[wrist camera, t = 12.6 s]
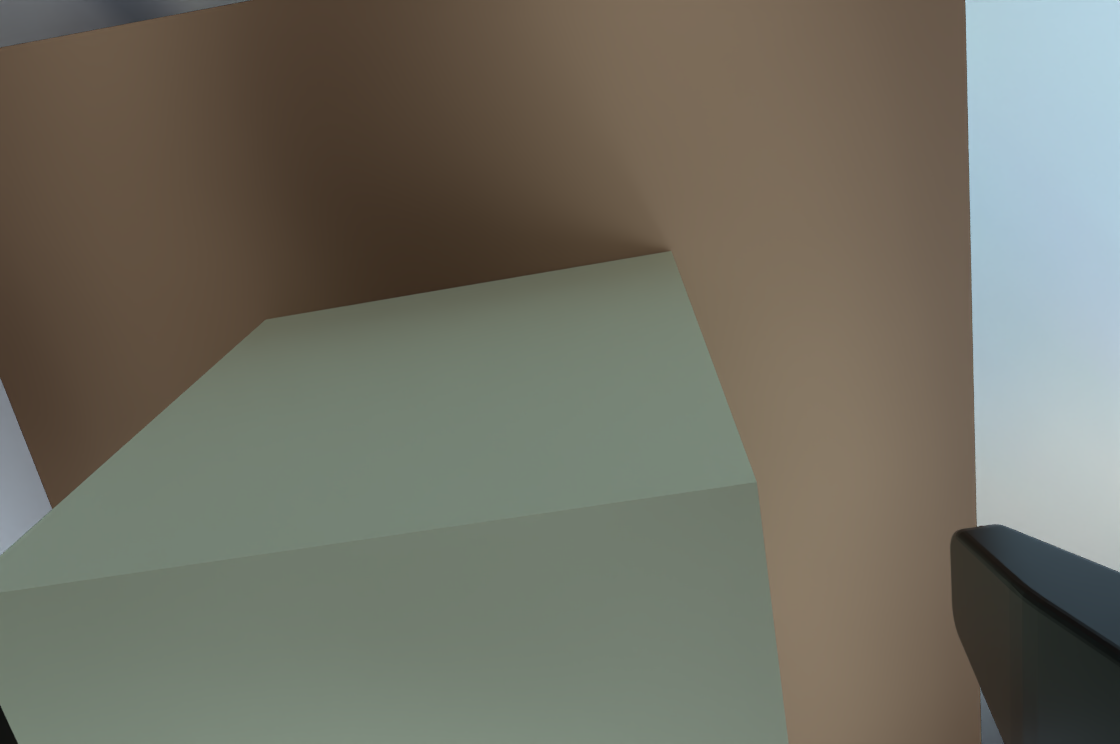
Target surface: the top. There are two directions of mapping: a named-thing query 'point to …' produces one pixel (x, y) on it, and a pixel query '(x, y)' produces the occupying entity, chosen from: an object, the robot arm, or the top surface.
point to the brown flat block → (547, 251)
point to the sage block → (416, 538)
